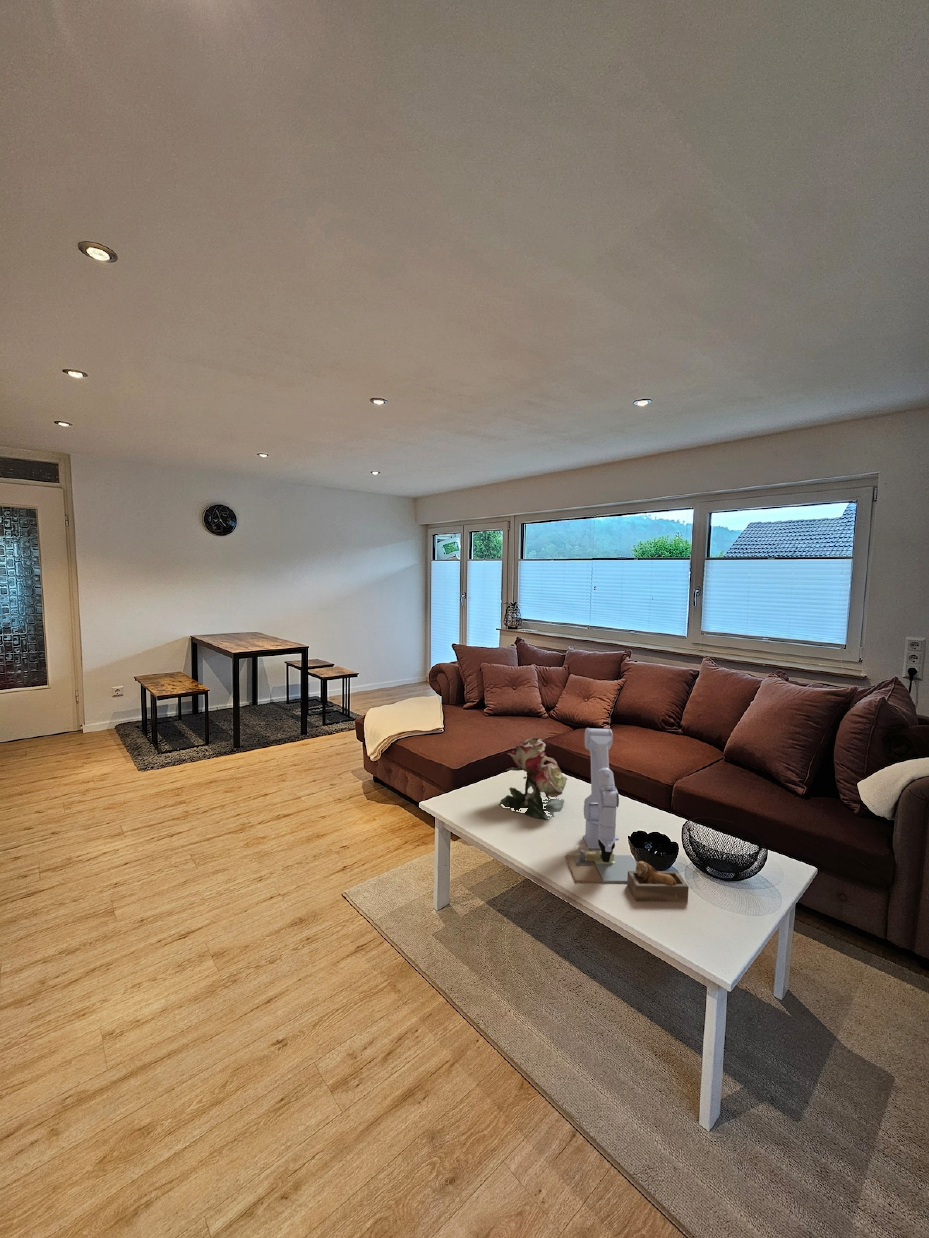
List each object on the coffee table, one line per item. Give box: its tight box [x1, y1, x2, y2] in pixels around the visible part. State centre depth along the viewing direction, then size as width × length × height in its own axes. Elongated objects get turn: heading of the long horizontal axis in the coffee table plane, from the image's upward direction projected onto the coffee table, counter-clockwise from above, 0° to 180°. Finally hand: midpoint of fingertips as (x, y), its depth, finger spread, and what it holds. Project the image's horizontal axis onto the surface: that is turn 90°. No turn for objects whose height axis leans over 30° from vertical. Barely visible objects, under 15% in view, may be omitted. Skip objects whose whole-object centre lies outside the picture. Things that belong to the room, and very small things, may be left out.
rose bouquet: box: [499, 736, 568, 821], centre depth 228 cm, size 26×29×30 cm
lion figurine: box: [636, 860, 677, 902], centre depth 165 cm, size 15×5×9 cm, turn 66°
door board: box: [564, 849, 637, 884], centre depth 178 cm, size 16×24×4 cm, turn 91°
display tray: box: [626, 870, 690, 903], centre depth 165 cm, size 8×16×5 cm, turn 91°
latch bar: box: [585, 850, 615, 861], centre depth 182 cm, size 10×2×3 cm, turn 92°
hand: (605, 861), depth 180 cm, fingers closed
